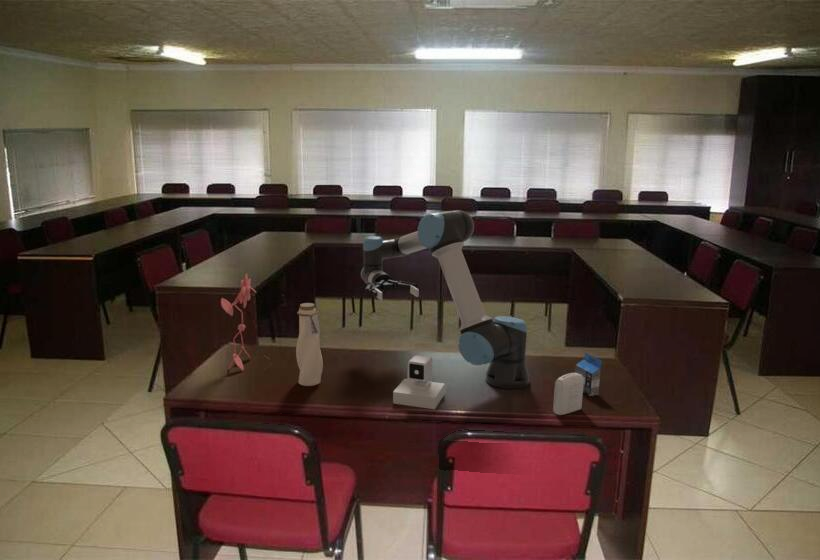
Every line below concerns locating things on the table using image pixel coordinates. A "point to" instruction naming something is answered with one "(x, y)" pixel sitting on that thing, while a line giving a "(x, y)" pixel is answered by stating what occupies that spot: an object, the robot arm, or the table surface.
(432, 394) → the plinth
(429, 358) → the security camera
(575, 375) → the photo printer
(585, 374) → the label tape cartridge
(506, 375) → the robot arm
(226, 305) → the figurine
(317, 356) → the water bottle
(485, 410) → the table surface
